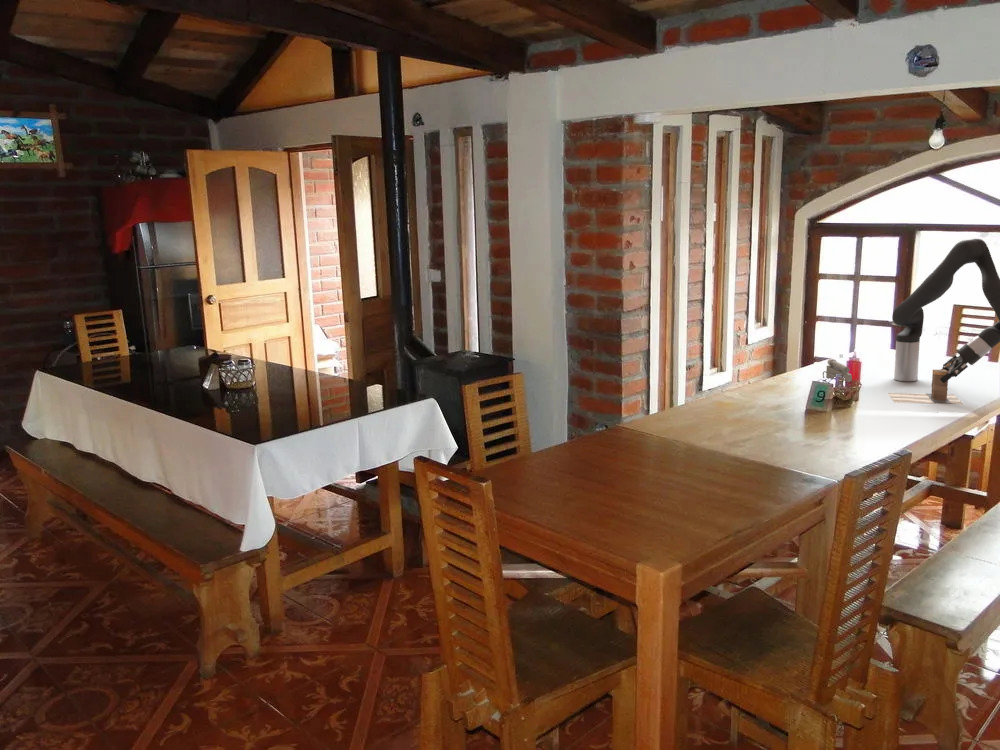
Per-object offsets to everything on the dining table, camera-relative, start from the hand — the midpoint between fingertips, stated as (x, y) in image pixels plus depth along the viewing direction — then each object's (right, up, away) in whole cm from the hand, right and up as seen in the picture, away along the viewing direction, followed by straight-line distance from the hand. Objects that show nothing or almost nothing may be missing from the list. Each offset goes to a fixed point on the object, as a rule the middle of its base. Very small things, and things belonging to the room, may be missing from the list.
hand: (939, 379), depth 321 cm
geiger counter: (-32, -7, +23) cm, 40 cm away
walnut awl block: (+1, -8, +2) cm, 8 cm away
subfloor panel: (-4, -9, +3) cm, 10 cm away
